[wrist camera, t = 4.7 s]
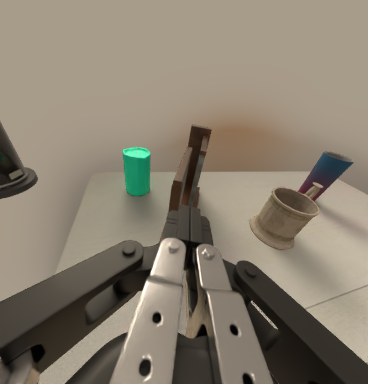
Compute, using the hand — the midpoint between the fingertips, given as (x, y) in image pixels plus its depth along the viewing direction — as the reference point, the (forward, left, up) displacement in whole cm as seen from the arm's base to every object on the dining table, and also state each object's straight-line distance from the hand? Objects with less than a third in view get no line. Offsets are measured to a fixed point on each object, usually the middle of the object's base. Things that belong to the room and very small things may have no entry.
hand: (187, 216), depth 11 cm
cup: (+37, +37, -17) cm, 55 cm away
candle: (-14, +23, -17) cm, 32 cm away
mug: (+22, +20, -17) cm, 35 cm away
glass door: (-2, +11, -15) cm, 19 cm away
